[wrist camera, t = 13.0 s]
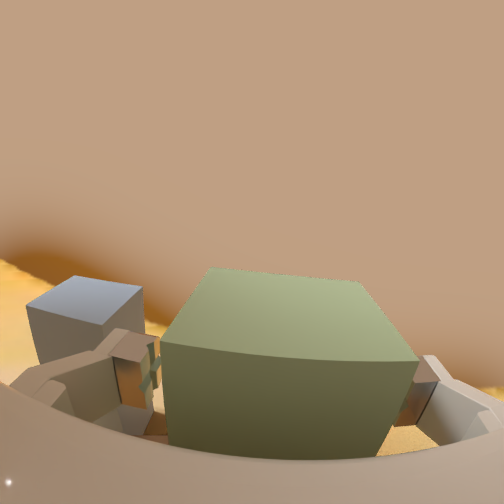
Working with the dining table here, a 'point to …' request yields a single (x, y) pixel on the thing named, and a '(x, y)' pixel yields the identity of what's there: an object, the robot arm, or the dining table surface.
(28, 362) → the dining table surface
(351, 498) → the robot arm
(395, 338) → the green block
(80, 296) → the blue block
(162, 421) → the dining table surface
